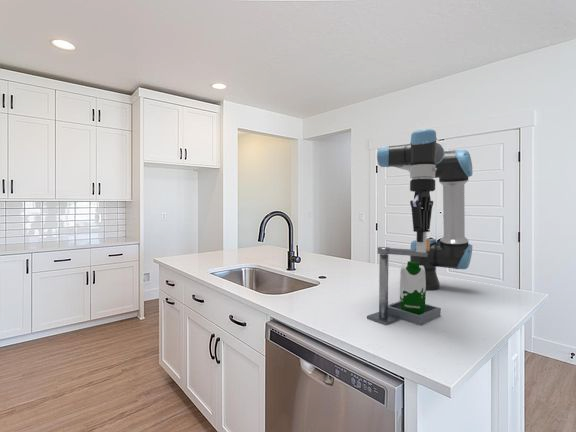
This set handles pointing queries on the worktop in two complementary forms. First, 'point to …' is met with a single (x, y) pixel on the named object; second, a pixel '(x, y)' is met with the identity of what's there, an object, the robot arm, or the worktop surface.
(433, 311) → the socket frame
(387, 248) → the crank handle
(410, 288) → the soya milk
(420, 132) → the robot arm
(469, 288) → the worktop surface
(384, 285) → the post
